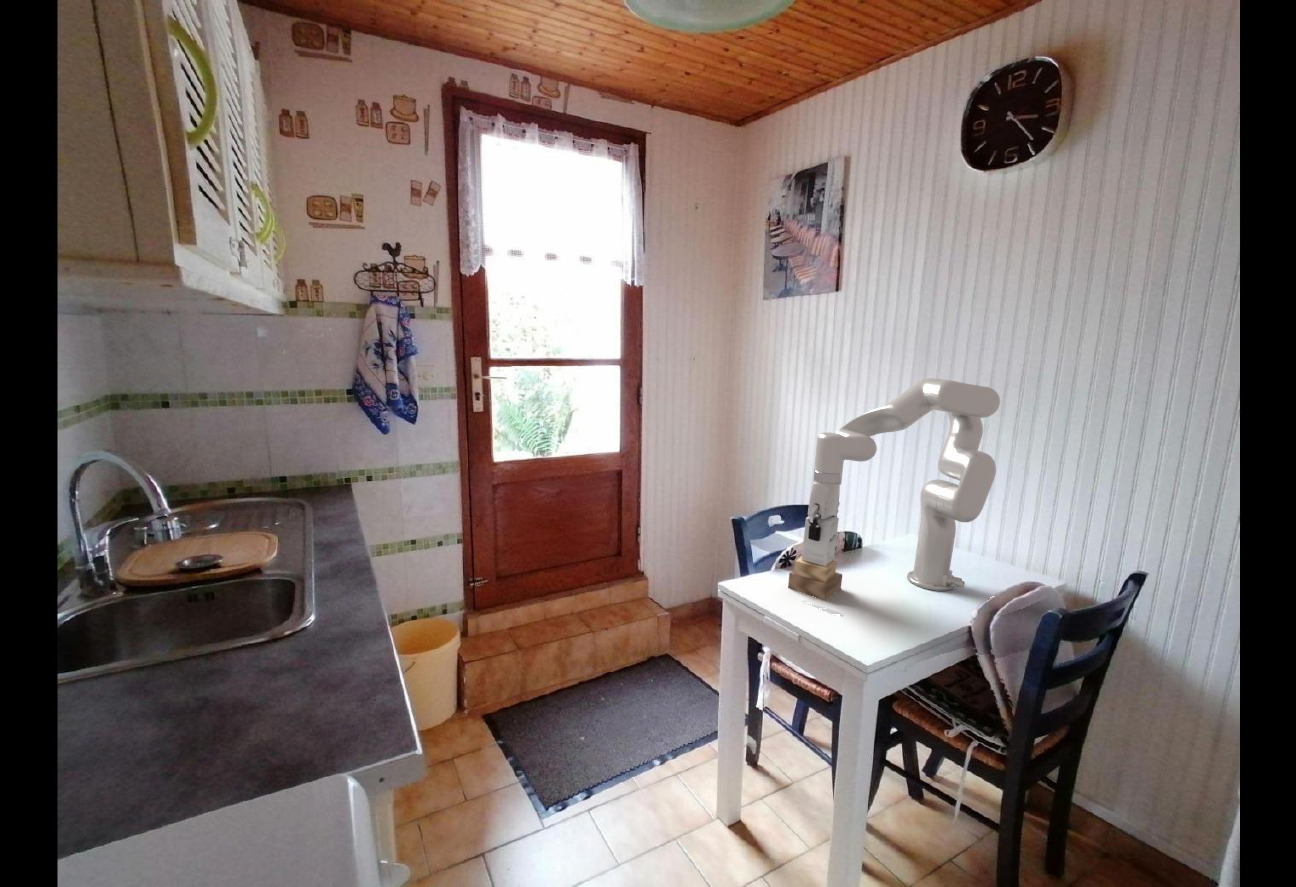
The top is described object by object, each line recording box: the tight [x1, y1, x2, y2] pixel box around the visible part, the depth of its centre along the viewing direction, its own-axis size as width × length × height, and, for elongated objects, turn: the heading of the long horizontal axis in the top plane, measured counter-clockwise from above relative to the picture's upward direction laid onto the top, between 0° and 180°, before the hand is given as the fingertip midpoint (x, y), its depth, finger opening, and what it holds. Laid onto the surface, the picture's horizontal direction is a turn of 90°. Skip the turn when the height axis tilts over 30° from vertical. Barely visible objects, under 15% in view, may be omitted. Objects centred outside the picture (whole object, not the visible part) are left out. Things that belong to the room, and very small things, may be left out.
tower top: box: [793, 555, 838, 583], centre depth 160 cm, size 9×9×4 cm
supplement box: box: [801, 515, 840, 566], centre depth 159 cm, size 7×7×13 cm
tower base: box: [787, 570, 843, 602], centre depth 161 cm, size 11×11×5 cm
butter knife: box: [802, 600, 844, 617], centre depth 153 cm, size 1×24×3 cm
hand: (821, 535), depth 159 cm, fingers open, 9 cm apart
